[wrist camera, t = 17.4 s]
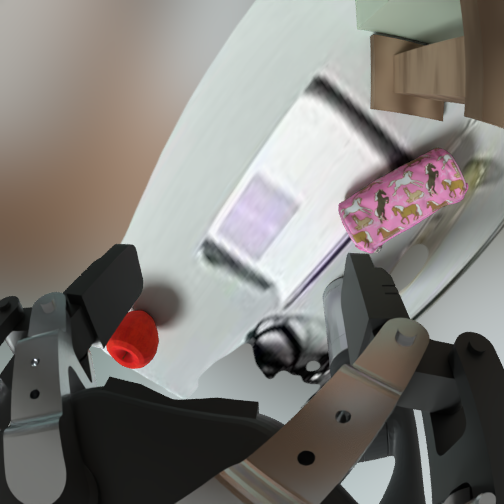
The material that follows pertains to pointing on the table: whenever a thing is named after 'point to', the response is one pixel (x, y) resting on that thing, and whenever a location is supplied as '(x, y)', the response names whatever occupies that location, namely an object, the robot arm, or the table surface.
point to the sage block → (412, 18)
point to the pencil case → (402, 199)
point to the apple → (134, 340)
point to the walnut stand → (445, 69)
